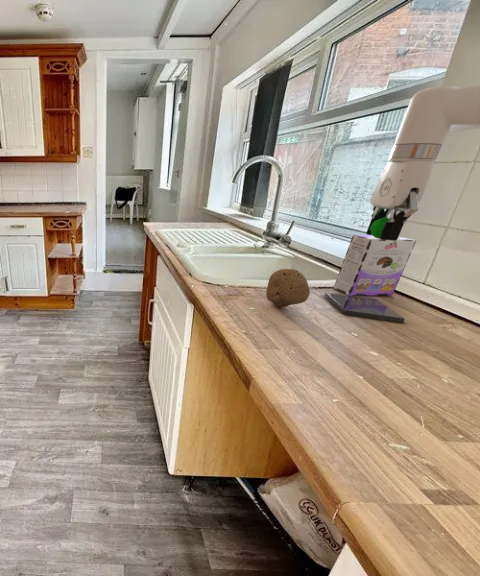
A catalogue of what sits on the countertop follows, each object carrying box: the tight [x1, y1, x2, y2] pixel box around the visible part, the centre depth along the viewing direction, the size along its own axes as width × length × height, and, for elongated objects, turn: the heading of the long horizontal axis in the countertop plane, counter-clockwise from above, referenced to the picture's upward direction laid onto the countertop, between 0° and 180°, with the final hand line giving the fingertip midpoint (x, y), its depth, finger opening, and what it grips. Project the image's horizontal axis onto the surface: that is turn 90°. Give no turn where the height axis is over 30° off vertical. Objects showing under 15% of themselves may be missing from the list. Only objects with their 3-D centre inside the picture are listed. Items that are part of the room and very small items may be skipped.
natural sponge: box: [265, 268, 311, 308], centre depth 75 cm, size 9×9×10 cm
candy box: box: [333, 234, 417, 296], centre depth 86 cm, size 14×6×16 cm, turn 94°
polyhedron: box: [370, 217, 389, 239], centre depth 72 cm, size 5×5×5 cm
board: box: [324, 292, 406, 324], centre depth 78 cm, size 12×12×1 cm
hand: (380, 236), depth 73 cm, fingers closed on polyhedron, 5 cm apart
